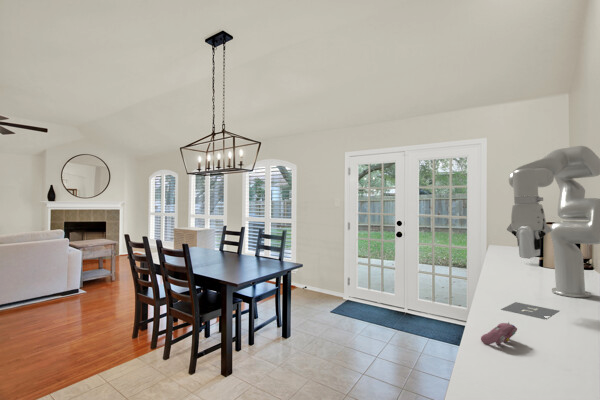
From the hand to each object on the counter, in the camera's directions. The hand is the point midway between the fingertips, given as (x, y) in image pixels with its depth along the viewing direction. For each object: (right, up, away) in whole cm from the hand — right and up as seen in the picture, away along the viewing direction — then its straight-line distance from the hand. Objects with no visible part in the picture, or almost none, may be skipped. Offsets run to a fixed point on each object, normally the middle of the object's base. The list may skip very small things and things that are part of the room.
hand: (529, 248), depth 116 cm
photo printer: (0, -3, 0) cm, 3 cm away
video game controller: (-30, -23, -29) cm, 47 cm away
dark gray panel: (-2, -23, -3) cm, 23 cm away
